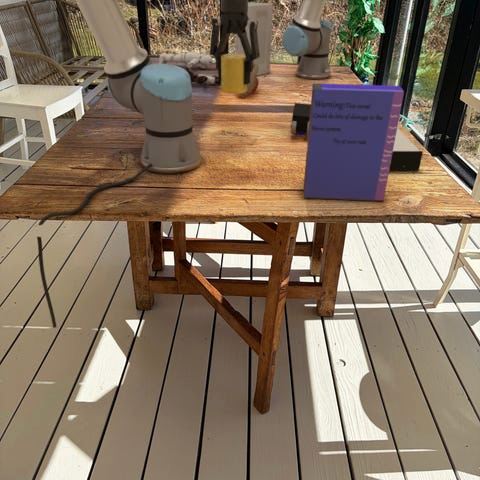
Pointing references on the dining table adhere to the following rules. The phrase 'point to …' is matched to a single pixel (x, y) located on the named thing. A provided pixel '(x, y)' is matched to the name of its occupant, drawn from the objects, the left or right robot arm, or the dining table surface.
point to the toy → (187, 59)
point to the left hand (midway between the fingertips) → (234, 81)
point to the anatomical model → (251, 82)
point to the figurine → (201, 77)
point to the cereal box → (351, 141)
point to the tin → (233, 73)
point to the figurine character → (301, 119)
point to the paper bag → (260, 34)
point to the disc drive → (405, 154)
